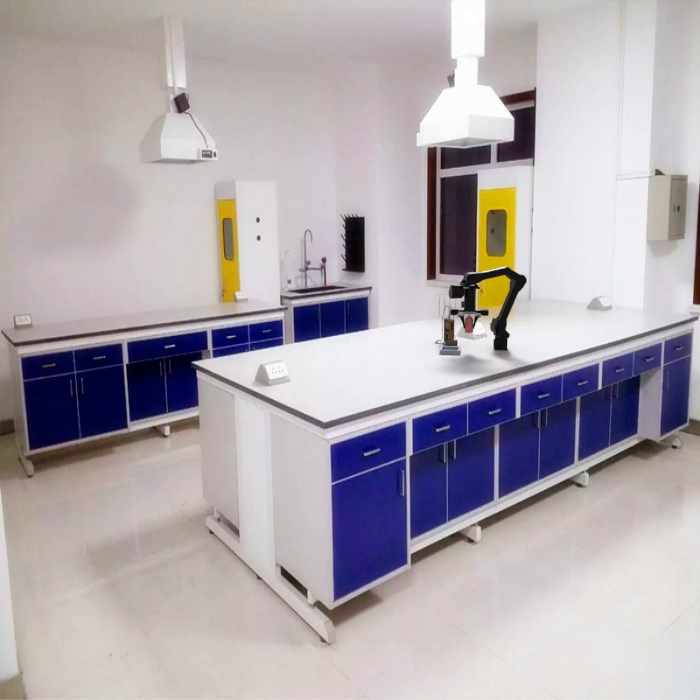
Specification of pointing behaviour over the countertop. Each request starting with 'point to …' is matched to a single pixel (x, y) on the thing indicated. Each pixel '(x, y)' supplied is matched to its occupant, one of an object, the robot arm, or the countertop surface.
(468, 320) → the red rounded cylinder
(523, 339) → the countertop surface
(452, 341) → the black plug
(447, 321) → the multimeter
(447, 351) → the tray
